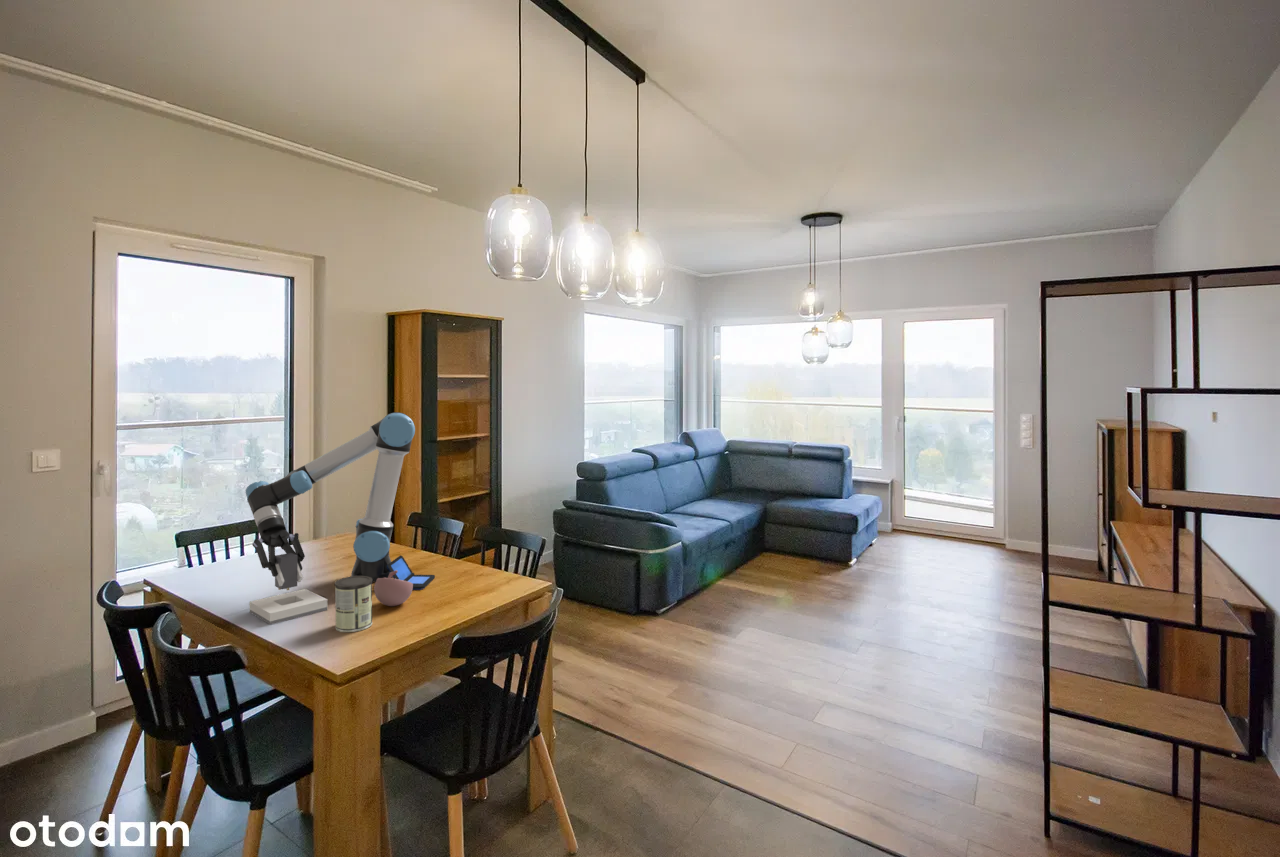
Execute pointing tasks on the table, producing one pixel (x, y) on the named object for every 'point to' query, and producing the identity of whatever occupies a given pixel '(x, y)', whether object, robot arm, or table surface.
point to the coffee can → (353, 603)
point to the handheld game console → (408, 574)
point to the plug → (287, 570)
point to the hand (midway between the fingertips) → (291, 581)
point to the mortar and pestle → (392, 590)
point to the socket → (287, 606)
